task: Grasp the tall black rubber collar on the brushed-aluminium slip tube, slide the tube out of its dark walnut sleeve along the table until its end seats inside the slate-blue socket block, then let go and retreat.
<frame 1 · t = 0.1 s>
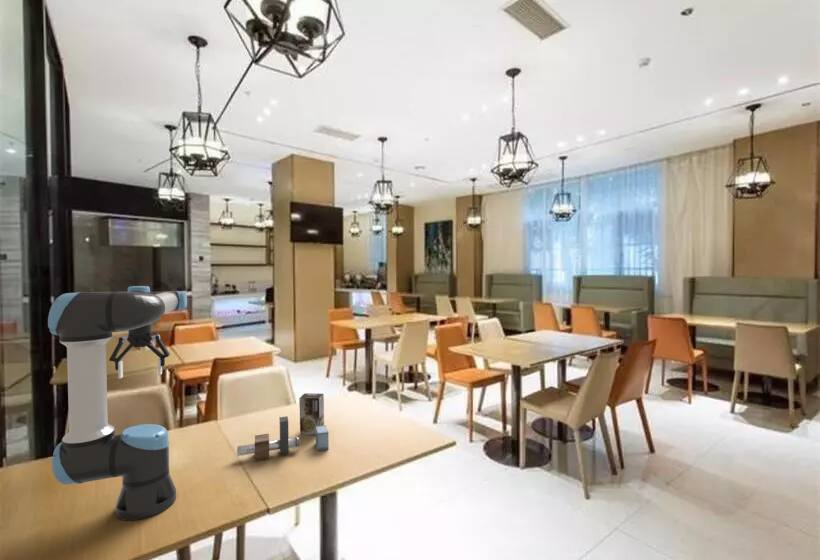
hand: (140, 376, 157), 28 cm above the table, fingers open, 13 cm apart
socket: (322, 446, 155), on the table
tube: (268, 437, 148), point 7 cm above the table, slide at 0.0 cm
coffee box: (312, 432, 169), on the table
sleeve: (262, 456, 147), on the table
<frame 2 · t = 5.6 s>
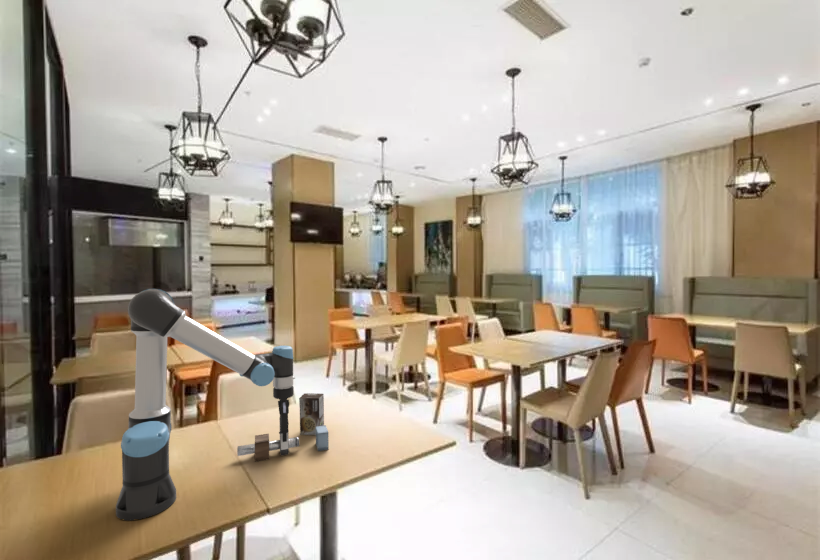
hand: (284, 445, 150), 3 cm above the table, fingers closed on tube, 5 cm apart
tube: (268, 437, 148), point 7 cm above the table, slide at 0.0 cm, touching gripper
everything else where it was.
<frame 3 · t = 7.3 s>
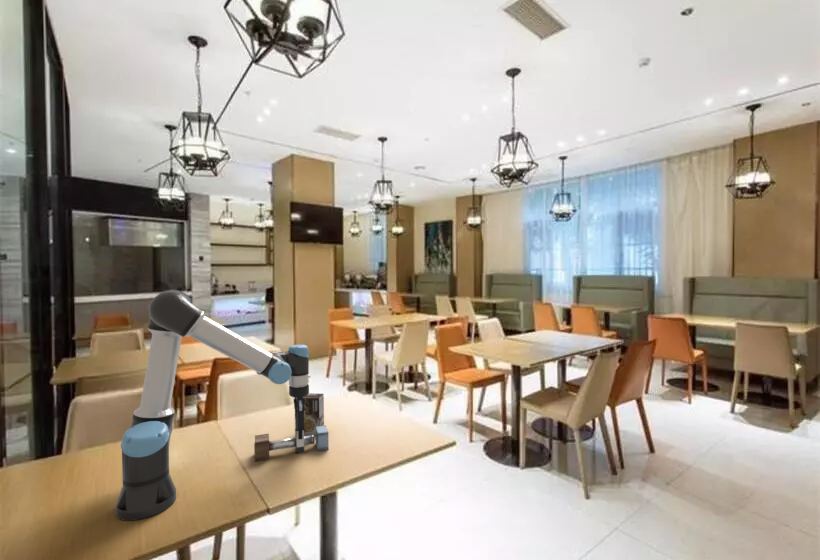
hand: (299, 443, 152), 3 cm above the table, fingers closed on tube, 5 cm apart
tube: (284, 435, 150), point 7 cm above the table, slide at 5.8 cm, touching gripper
everything else where it was.
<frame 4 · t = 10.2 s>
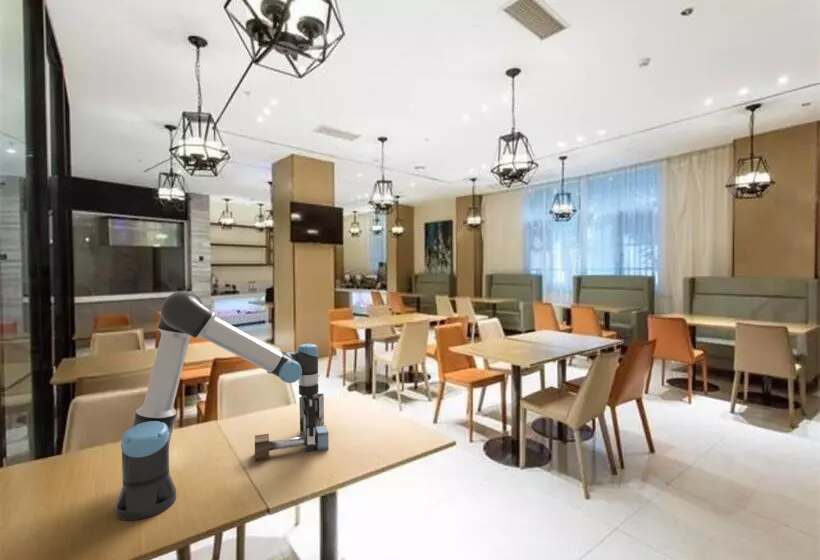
hand: (309, 436, 153), 5 cm above the table, fingers open, 13 cm apart
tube: (294, 434, 151), point 7 cm above the table, slide at 9.5 cm
everything else where it was.
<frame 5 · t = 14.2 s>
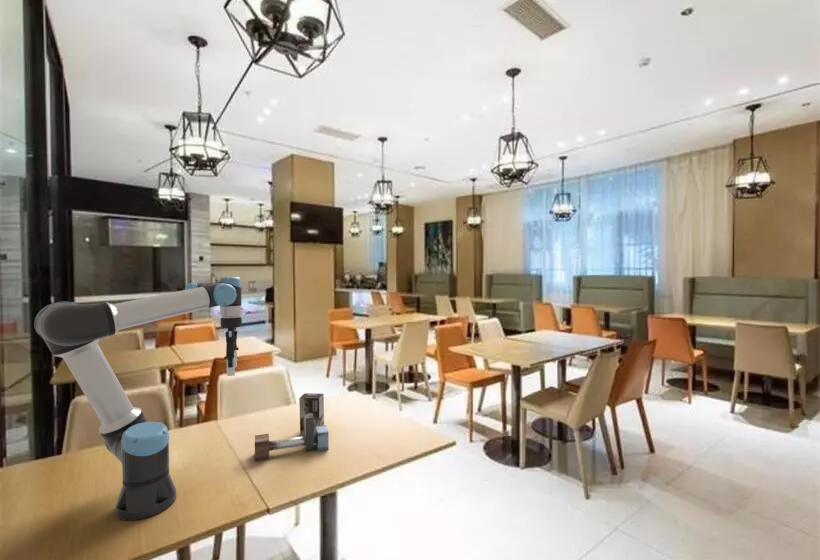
hand: (232, 371, 150), 32 cm above the table, fingers open, 13 cm apart
nothing on the table moved.
at the end: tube slide at 9.5 cm; the gripper is holding nothing; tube 0.2 cm from the target spot, resting on socket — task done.
